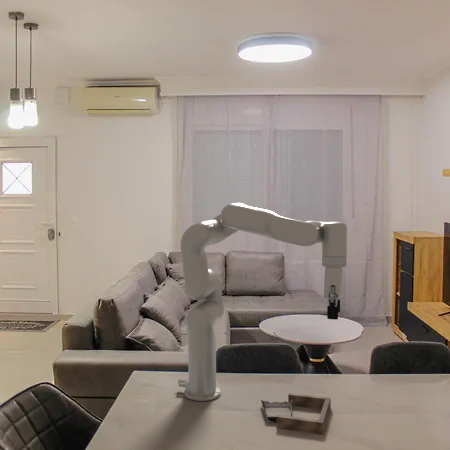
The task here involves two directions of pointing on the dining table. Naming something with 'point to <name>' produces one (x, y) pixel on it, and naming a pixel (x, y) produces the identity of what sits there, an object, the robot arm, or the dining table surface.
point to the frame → (304, 423)
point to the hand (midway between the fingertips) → (333, 315)
